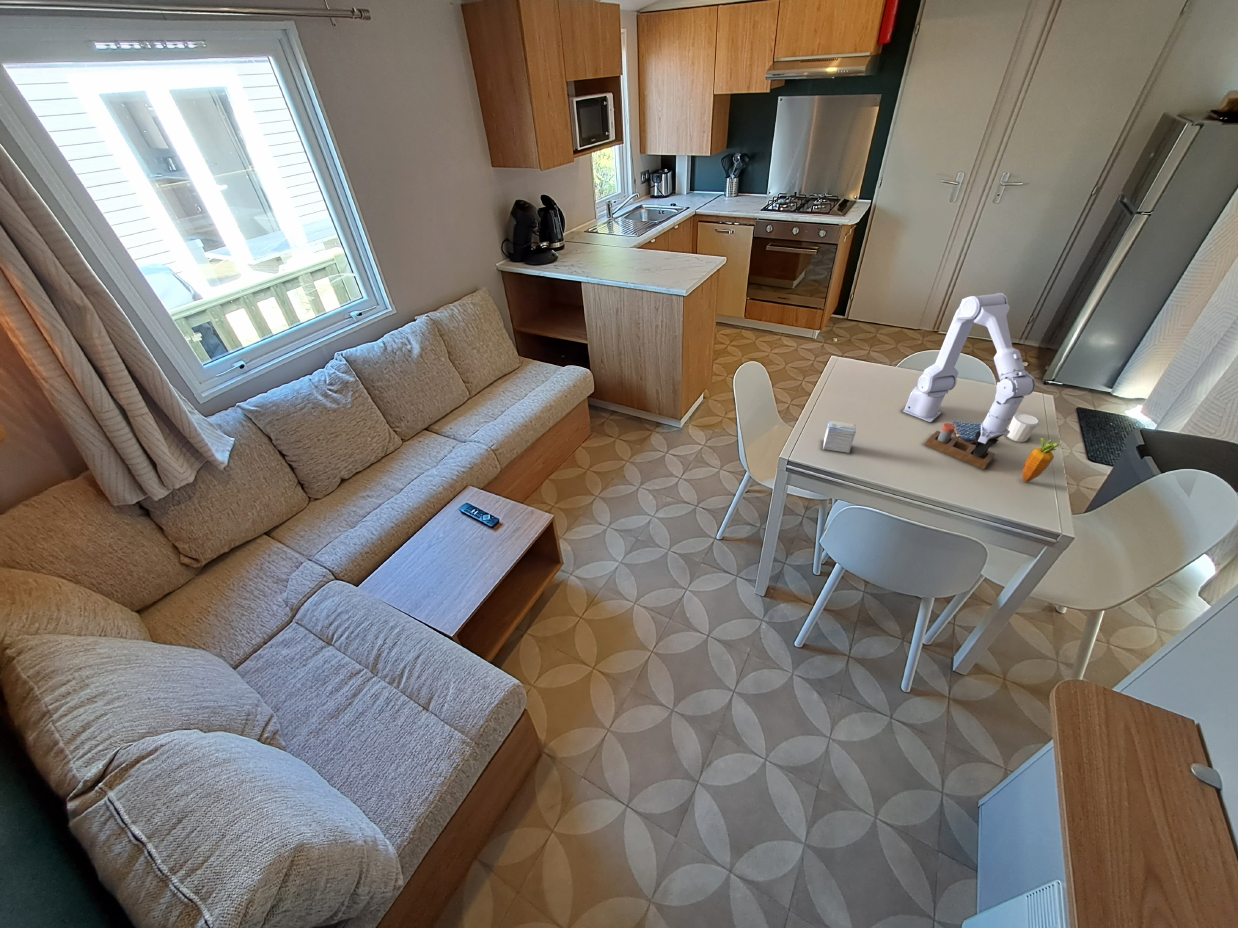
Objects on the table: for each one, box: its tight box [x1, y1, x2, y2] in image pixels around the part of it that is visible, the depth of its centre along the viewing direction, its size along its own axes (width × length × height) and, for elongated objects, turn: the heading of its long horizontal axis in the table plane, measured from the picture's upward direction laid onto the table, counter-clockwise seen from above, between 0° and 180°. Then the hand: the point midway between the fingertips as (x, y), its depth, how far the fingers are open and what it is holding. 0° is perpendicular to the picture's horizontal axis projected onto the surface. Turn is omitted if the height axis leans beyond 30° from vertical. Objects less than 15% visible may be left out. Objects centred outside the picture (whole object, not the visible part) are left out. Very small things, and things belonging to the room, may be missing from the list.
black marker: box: [972, 447, 991, 459], centre depth 148 cm, size 3×3×8 cm
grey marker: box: [937, 422, 955, 444], centre depth 154 cm, size 3×3×8 cm
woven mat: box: [951, 420, 982, 444], centre depth 159 cm, size 10×11×2 cm
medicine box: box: [822, 420, 857, 454], centre depth 156 cm, size 8×4×9 cm, turn 71°
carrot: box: [1022, 438, 1060, 483], centre depth 137 cm, size 5×5×15 cm
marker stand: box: [925, 430, 996, 470], centre depth 153 cm, size 17×7×2 cm, turn 41°
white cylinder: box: [1006, 412, 1041, 443], centre depth 156 cm, size 7×7×7 cm
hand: (980, 451), depth 148 cm, fingers closed on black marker, 3 cm apart
